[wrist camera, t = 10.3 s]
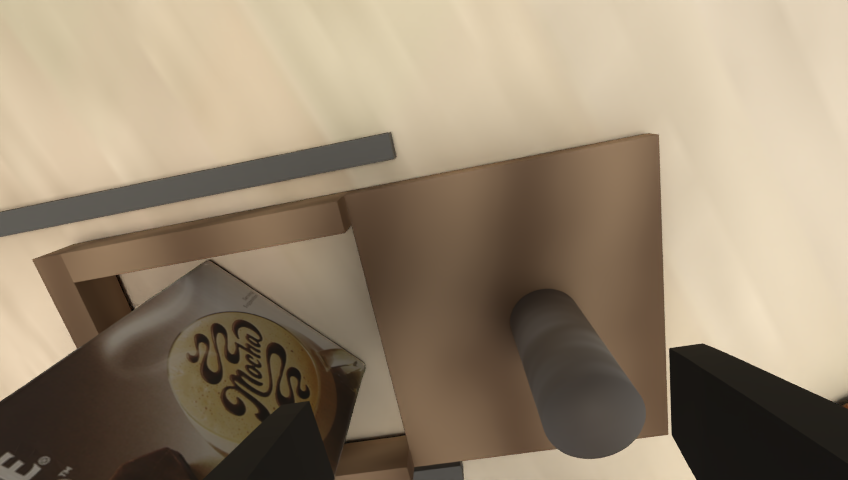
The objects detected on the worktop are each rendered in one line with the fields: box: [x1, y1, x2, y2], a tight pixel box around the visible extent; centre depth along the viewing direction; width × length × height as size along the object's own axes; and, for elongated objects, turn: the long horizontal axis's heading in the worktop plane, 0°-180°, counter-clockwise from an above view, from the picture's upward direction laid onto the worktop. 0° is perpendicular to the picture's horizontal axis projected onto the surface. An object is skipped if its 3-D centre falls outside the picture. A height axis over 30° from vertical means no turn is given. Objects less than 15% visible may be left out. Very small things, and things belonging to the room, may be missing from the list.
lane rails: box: [0, 132, 464, 480], centre depth 22 cm, size 28×30×1 cm
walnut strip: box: [33, 133, 668, 480], centre depth 16 cm, size 25×14×7 cm, turn 101°
